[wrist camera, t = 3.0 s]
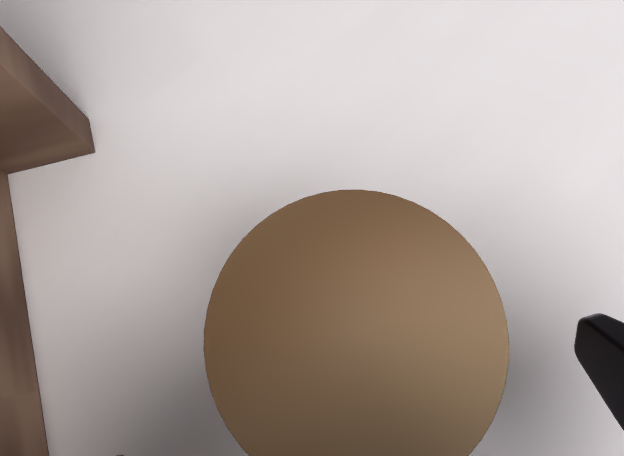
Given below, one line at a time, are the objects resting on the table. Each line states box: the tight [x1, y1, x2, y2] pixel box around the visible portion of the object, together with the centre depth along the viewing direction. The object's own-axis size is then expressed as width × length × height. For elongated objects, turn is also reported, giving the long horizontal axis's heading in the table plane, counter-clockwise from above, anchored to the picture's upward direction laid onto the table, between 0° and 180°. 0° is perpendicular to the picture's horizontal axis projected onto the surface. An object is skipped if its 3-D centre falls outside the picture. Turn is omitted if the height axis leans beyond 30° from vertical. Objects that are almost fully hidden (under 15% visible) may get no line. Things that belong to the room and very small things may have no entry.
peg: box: [204, 190, 509, 456], centre depth 12 cm, size 4×4×12 cm
